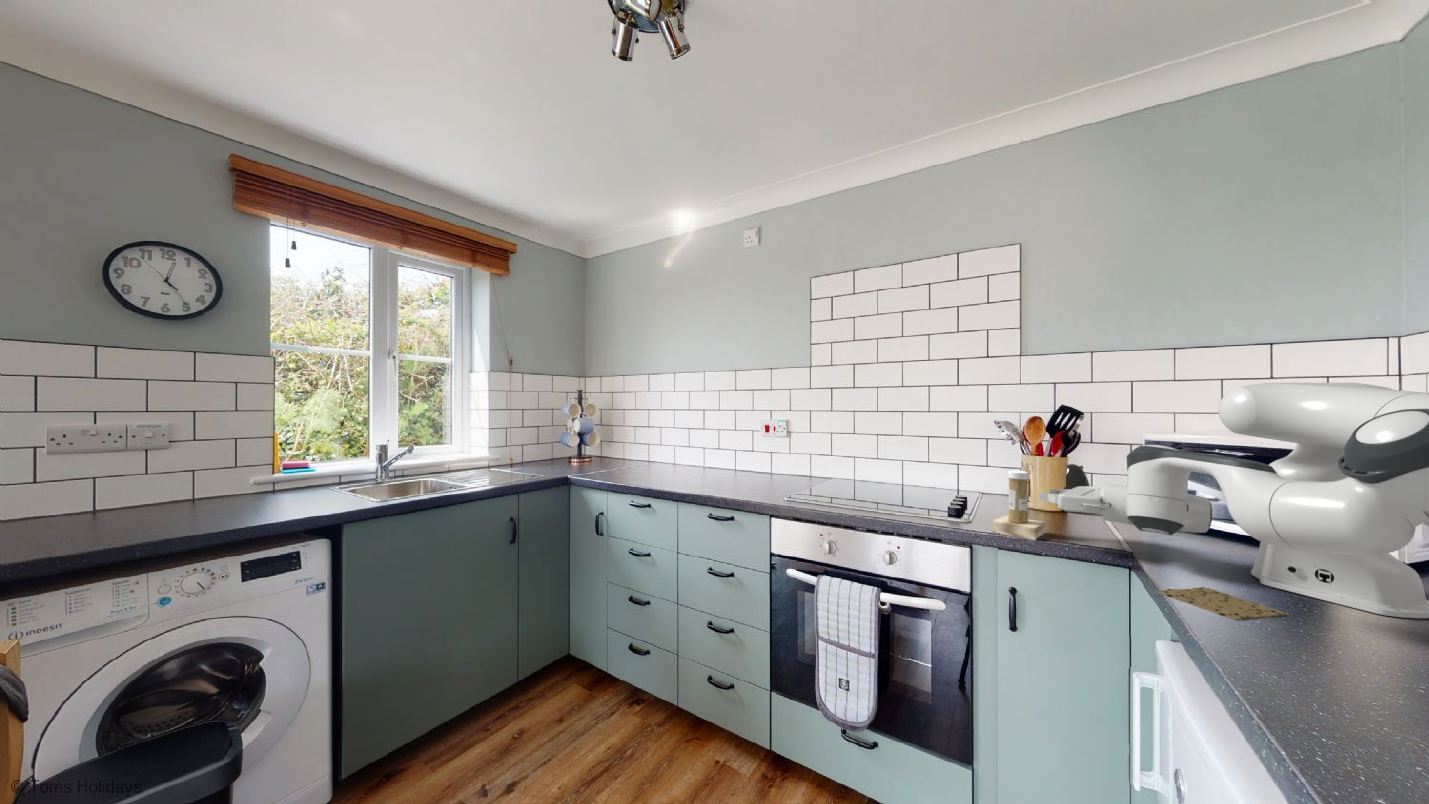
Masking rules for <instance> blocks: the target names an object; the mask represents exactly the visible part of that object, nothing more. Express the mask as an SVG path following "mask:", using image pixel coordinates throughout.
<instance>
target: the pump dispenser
mask: <svg viewBox="0 0 1429 804" xmlns="http://www.w3.org/2000/svg"><path fill="white" fill-rule="evenodd" d="M1066 465H1067V474H1066V488H1065V487H1064V489H1069V490H1071V489H1073V488H1075V487H1079V486H1091V485H1090V482H1089V479H1088V476H1087V474H1086V473H1085V471H1084V466H1083V465H1078V464H1074V463H1070V464H1066ZM1063 512H1067V513H1072V512H1073V513H1074V514H1082V513H1083V512H1076V511H1068V510H1064V511H1063Z"/></svg>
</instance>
